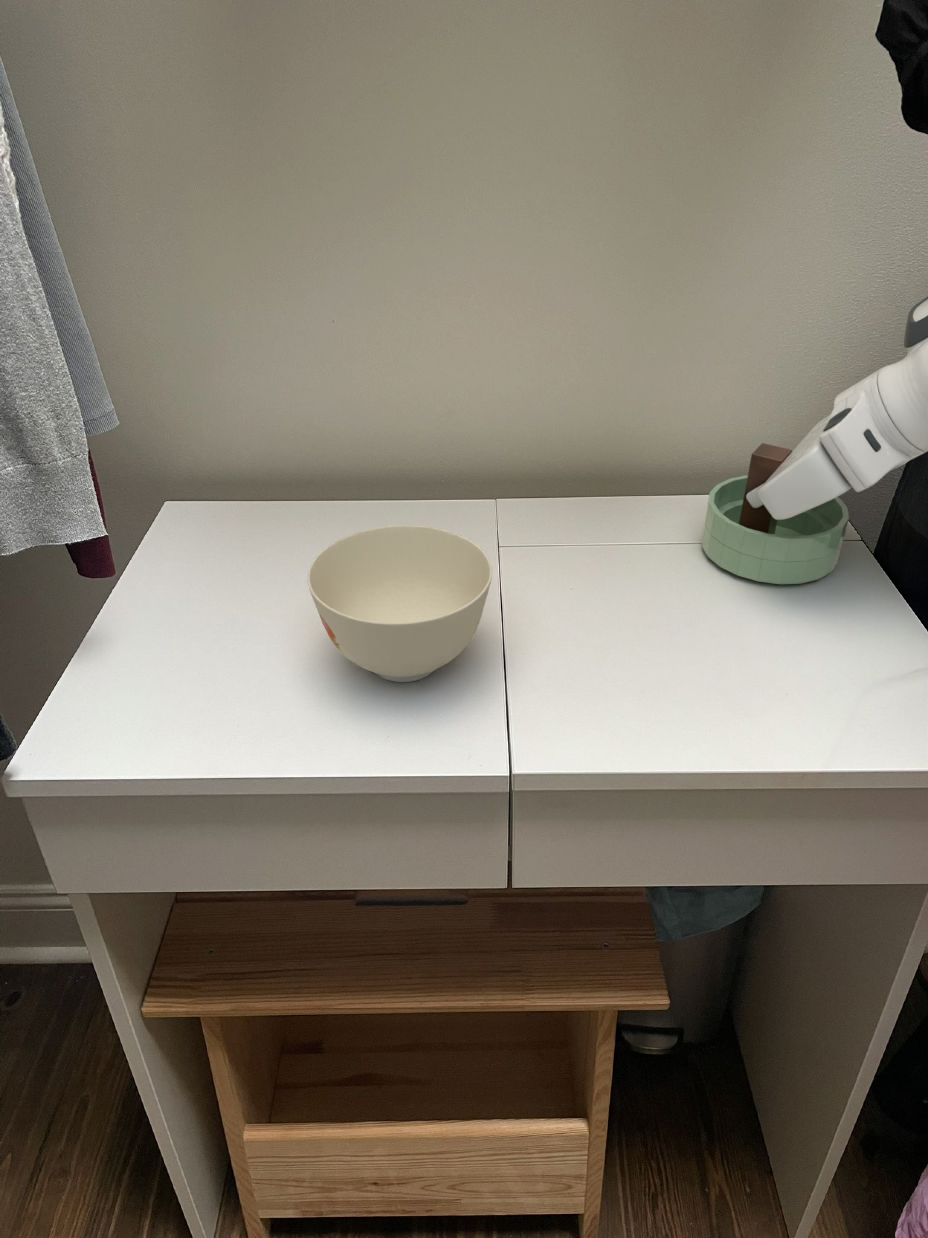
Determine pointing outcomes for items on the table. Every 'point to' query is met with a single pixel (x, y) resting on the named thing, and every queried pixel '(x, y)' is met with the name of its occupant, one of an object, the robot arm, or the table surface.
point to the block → (759, 472)
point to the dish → (772, 539)
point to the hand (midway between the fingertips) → (758, 491)
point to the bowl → (400, 597)
